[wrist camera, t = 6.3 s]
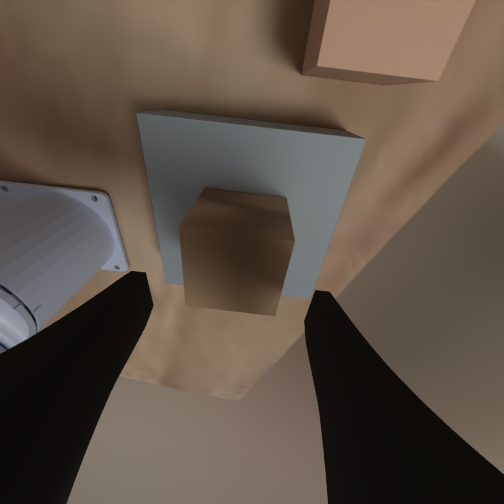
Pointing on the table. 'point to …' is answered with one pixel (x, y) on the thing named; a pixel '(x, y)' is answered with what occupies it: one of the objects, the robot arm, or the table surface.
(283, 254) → the walnut cube
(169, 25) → the table surface
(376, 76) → the terracotta cube
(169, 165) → the base block
